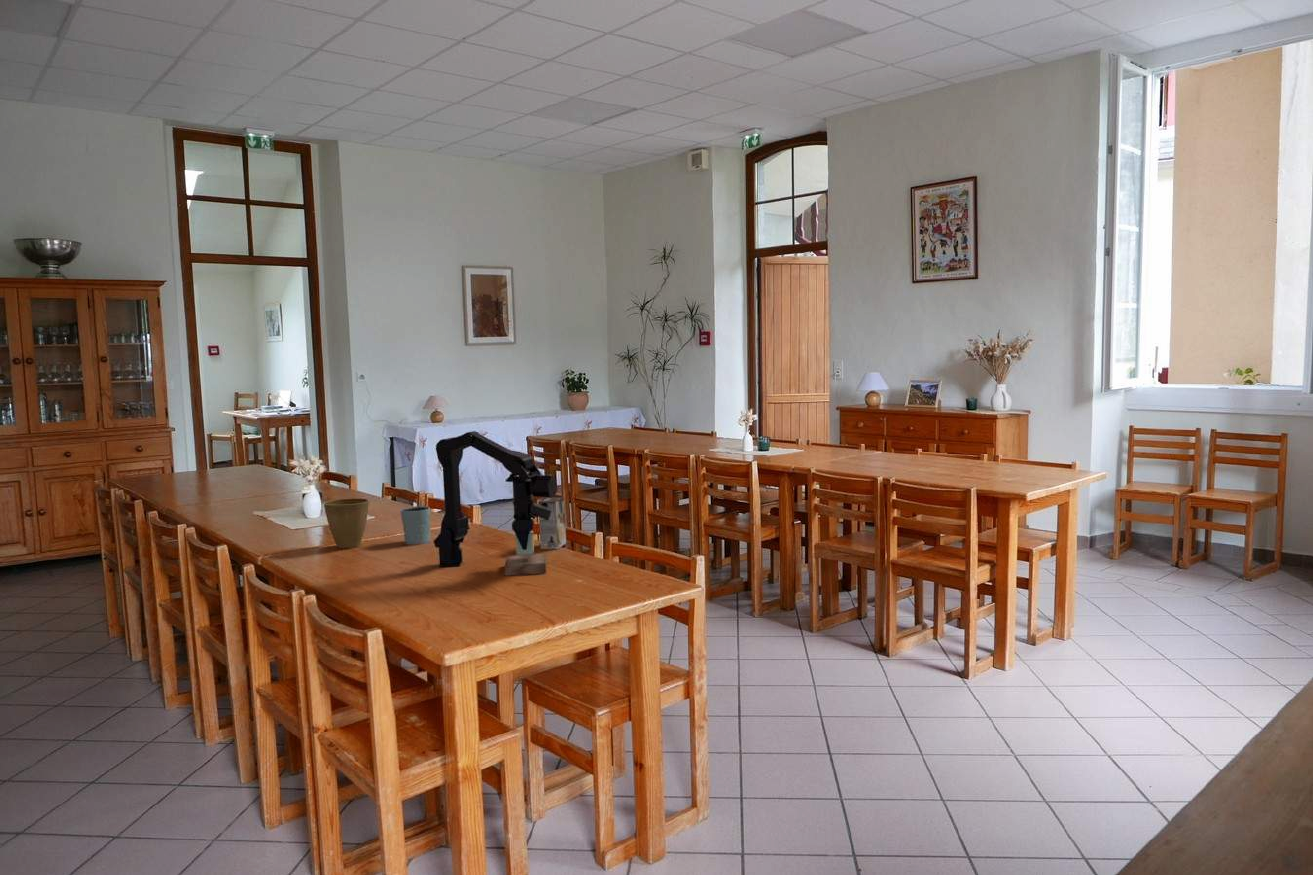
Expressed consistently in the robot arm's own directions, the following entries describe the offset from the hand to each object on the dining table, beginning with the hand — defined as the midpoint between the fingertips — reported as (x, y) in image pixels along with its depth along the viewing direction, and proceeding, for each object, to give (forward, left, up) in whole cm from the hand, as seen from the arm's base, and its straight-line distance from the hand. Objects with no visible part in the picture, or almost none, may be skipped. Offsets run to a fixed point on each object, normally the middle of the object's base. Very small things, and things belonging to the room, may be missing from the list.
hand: (525, 547), depth 264 cm
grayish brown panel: (0, 0, -7) cm, 7 cm away
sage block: (0, 0, -2) cm, 2 cm away
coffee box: (+8, +30, -7) cm, 32 cm away
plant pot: (-63, +48, -7) cm, 79 cm away
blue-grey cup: (-40, +49, -7) cm, 64 cm away
